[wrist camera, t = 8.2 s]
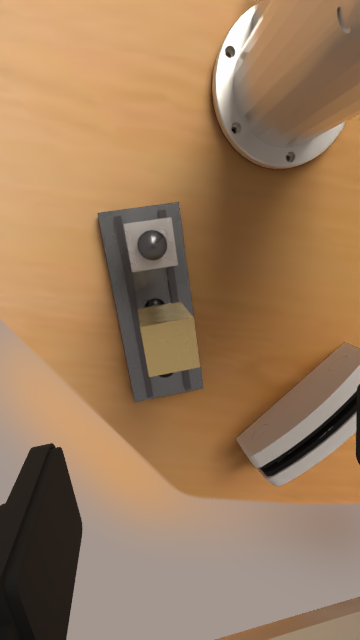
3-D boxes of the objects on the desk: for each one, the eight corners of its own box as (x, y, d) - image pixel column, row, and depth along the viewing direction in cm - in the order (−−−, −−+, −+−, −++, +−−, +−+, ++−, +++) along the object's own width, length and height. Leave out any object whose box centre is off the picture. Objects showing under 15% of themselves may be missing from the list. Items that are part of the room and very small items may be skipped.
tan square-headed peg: (135, 295, 29) (140, 327, 19) (170, 289, 29) (193, 317, 19) (141, 329, 30) (148, 377, 20) (175, 323, 30) (200, 367, 20)
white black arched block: (260, 465, 38) (280, 516, 28) (232, 434, 38) (242, 474, 28) (369, 370, 37) (430, 387, 27) (340, 339, 37) (390, 345, 27)
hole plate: (98, 214, 28) (83, 201, 18) (176, 203, 29) (202, 185, 19) (134, 396, 33) (137, 464, 23) (200, 383, 34) (231, 443, 24)
